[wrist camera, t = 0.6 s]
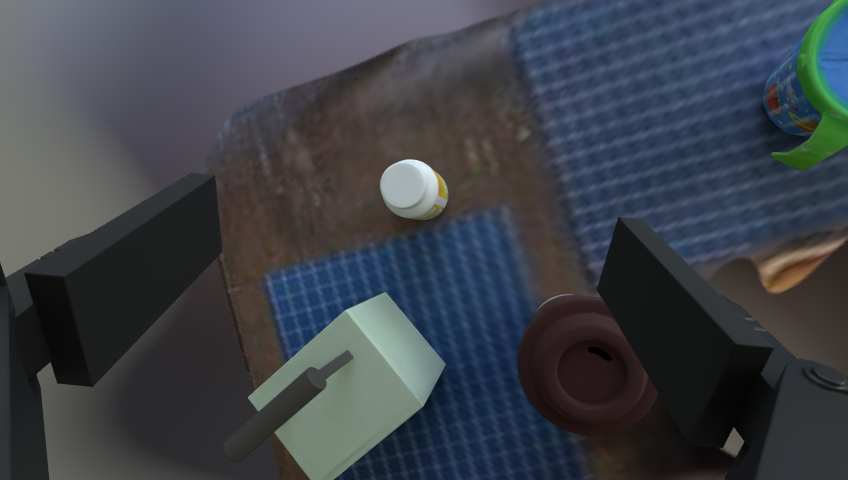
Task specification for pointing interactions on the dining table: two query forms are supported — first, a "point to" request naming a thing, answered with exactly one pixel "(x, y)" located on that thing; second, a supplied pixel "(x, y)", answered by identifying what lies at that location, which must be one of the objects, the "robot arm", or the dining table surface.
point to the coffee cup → (582, 368)
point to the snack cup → (813, 90)
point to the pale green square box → (343, 390)
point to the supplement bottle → (413, 190)
